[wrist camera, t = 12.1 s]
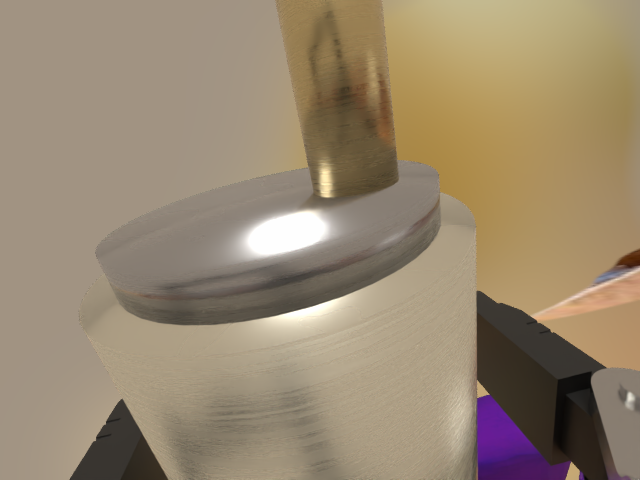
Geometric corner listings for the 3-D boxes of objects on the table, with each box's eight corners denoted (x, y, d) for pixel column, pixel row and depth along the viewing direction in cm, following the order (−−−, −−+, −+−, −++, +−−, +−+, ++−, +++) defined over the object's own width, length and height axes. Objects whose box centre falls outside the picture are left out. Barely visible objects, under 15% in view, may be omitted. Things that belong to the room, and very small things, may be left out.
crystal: (338, 422, 23) (546, 376, 22) (354, 469, 24) (550, 427, 23) (343, 493, 18) (608, 439, 17) (363, 545, 20) (608, 498, 18)
